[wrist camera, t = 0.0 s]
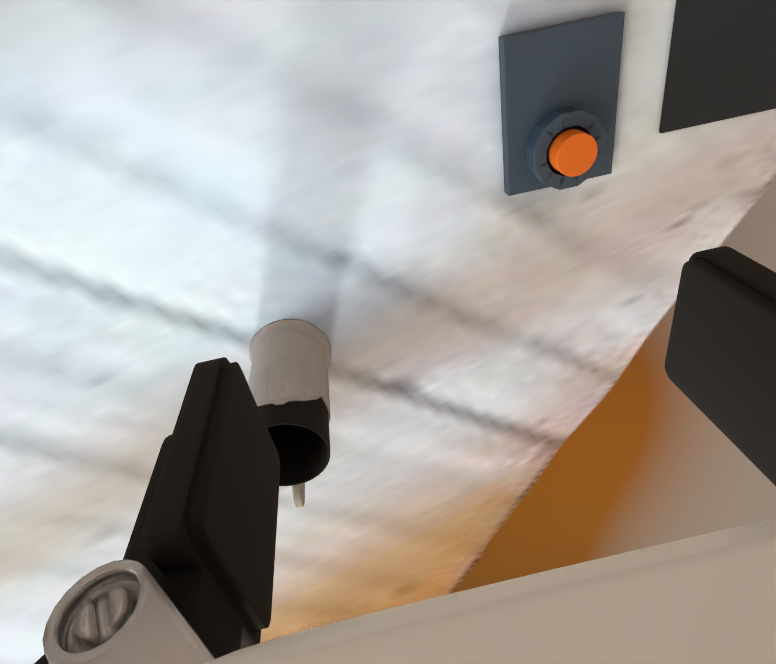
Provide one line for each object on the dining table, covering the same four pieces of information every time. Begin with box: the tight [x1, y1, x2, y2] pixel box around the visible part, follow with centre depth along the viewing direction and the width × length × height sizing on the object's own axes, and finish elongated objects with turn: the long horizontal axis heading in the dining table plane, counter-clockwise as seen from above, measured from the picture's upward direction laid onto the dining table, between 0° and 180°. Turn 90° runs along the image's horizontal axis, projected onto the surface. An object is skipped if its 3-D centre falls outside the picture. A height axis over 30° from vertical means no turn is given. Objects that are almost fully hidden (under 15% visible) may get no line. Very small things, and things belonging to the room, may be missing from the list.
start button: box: [549, 129, 598, 177], centre depth 42 cm, size 4×4×2 cm
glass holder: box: [248, 319, 331, 507], centre depth 49 cm, size 9×14×15 cm, turn 2°
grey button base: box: [499, 12, 625, 196], centre depth 42 cm, size 13×10×3 cm
